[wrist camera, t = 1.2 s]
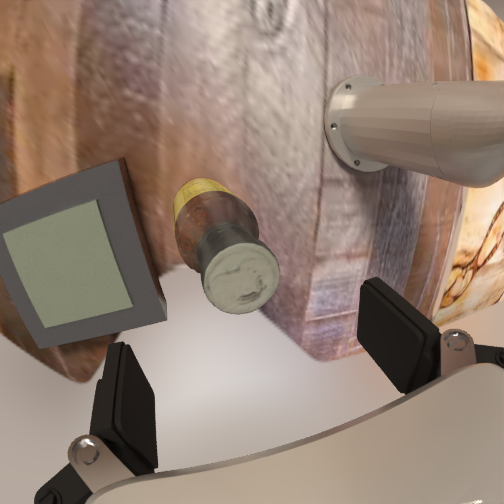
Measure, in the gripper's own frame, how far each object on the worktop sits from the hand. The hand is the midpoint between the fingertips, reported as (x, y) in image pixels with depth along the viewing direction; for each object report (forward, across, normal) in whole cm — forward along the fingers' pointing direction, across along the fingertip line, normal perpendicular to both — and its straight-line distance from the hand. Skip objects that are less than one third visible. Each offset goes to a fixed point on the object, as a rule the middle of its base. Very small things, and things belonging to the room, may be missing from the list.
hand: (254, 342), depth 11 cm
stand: (+24, +16, +3) cm, 29 cm away
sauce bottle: (+24, 0, 0) cm, 24 cm away
